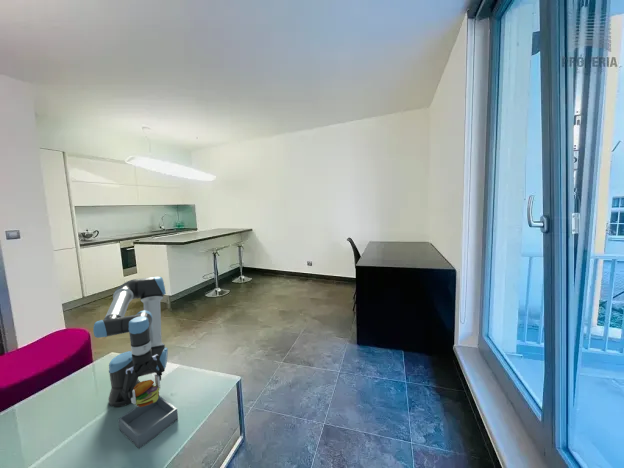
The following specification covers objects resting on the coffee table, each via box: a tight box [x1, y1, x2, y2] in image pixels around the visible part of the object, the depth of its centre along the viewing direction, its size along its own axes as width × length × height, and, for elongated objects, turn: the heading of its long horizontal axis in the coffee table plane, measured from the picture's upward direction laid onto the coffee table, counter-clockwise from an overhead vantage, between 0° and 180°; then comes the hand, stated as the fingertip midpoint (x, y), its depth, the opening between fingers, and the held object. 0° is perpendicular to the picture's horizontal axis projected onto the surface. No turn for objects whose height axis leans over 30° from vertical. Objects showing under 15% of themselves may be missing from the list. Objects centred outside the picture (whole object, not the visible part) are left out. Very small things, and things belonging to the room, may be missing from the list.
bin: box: [117, 395, 179, 450], centre depth 125 cm, size 18×18×6 cm
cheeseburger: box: [133, 379, 160, 407], centre depth 122 cm, size 10×11×10 cm
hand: (146, 394), depth 122 cm, fingers closed on cheeseburger, 10 cm apart
